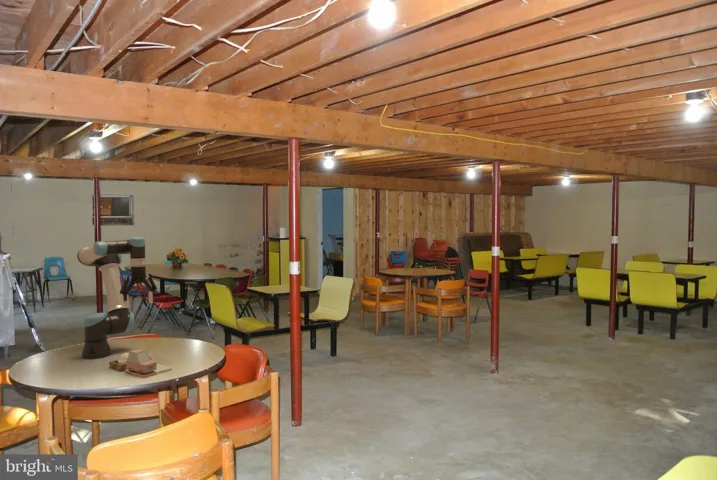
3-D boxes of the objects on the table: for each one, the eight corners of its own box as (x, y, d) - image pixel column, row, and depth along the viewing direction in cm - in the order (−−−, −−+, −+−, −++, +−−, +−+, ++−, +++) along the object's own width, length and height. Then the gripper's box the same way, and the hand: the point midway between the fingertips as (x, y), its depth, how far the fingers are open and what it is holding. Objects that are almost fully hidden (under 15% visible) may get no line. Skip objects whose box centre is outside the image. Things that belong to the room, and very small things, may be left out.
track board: (124, 371, 276) (124, 369, 276) (153, 364, 289) (153, 362, 289) (142, 377, 266) (142, 375, 266) (171, 369, 278) (171, 368, 278)
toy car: (143, 376, 265) (143, 355, 265) (123, 371, 273) (122, 351, 272) (159, 371, 273) (158, 351, 273) (139, 366, 281) (138, 347, 280)
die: (139, 362, 292) (139, 353, 292) (145, 360, 296) (145, 351, 296) (145, 363, 290) (145, 354, 290) (151, 361, 294) (151, 352, 294)
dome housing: (109, 367, 284) (109, 362, 283) (131, 362, 293) (130, 356, 293) (121, 371, 276) (121, 365, 276) (143, 366, 286) (143, 360, 286)
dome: (115, 365, 284) (114, 353, 284) (129, 362, 290) (129, 350, 290) (122, 368, 279) (122, 355, 279) (137, 364, 285) (137, 352, 285)
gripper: (119, 268, 281) (120, 309, 282) (162, 264, 300) (163, 302, 302) (111, 267, 286) (113, 307, 287) (155, 263, 305) (156, 300, 306)
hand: (139, 305), depth 294 cm, fingers open, 13 cm apart
